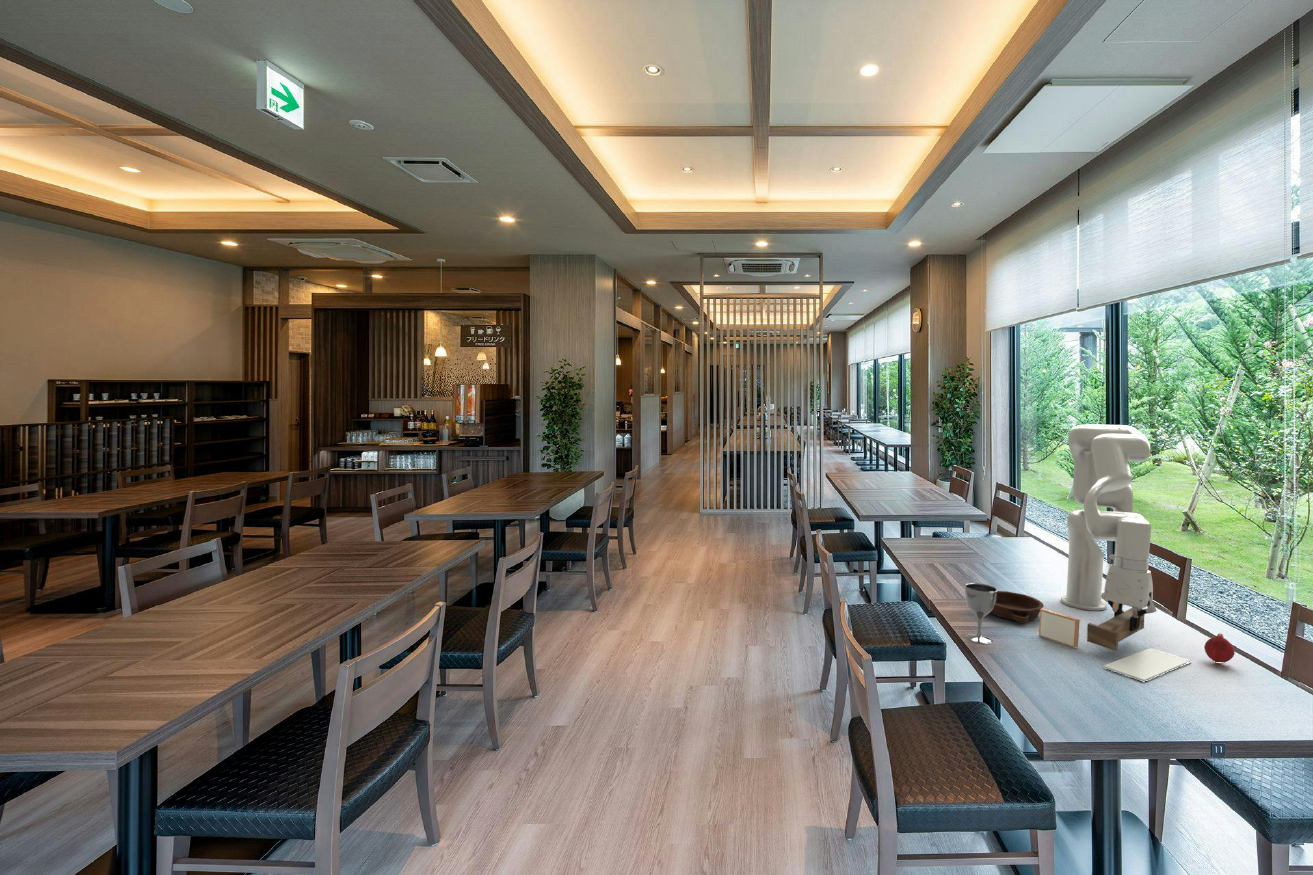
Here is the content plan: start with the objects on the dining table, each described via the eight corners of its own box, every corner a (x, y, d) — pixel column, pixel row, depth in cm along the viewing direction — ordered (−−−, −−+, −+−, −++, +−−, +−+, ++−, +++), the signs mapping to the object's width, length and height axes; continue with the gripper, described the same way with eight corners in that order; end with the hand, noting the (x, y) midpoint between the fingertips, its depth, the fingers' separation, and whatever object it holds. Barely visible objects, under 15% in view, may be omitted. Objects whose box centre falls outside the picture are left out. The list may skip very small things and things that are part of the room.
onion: (1235, 670, 160) (1238, 639, 159) (1206, 665, 163) (1208, 634, 162) (1230, 662, 165) (1232, 632, 164) (1201, 657, 168) (1203, 627, 167)
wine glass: (982, 646, 173) (985, 593, 172) (957, 636, 181) (959, 585, 179) (1000, 641, 177) (1003, 589, 176) (975, 631, 184) (977, 581, 183)
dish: (988, 623, 191) (989, 607, 191) (972, 600, 213) (973, 586, 212) (1053, 629, 187) (1054, 613, 187) (1030, 605, 208) (1031, 590, 208)
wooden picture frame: (1041, 635, 182) (1042, 608, 182) (1078, 647, 173) (1079, 619, 173) (1038, 636, 182) (1039, 609, 181) (1075, 648, 173) (1076, 620, 172)
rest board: (1150, 650, 172) (1150, 647, 172) (1190, 663, 164) (1191, 660, 164) (1103, 668, 160) (1103, 665, 160) (1144, 682, 152) (1144, 679, 152)
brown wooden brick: (1123, 621, 181) (1124, 605, 180) (1152, 630, 175) (1152, 613, 174) (1087, 641, 172) (1087, 623, 171) (1115, 651, 166) (1116, 633, 165)
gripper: (1091, 557, 178) (1086, 620, 180) (1159, 573, 164) (1153, 641, 166) (1105, 553, 182) (1101, 615, 183) (1173, 569, 167) (1167, 635, 169)
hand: (1126, 627), depth 175 cm, fingers closed on brown wooden brick, 2 cm apart
